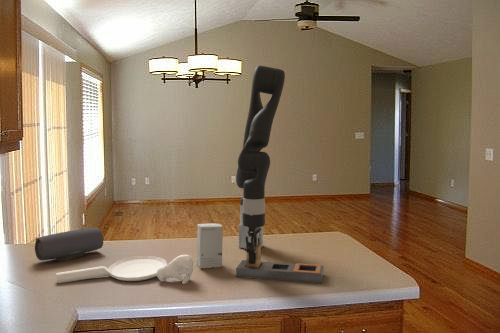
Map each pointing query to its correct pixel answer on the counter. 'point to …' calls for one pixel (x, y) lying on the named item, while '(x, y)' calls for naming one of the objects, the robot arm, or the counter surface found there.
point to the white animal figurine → (177, 269)
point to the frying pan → (118, 270)
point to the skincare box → (209, 245)
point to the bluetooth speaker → (68, 244)
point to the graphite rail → (283, 271)
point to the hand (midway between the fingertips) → (253, 261)
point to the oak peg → (258, 257)
